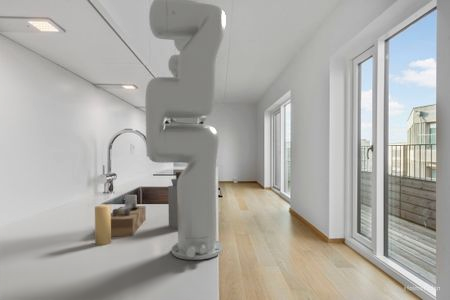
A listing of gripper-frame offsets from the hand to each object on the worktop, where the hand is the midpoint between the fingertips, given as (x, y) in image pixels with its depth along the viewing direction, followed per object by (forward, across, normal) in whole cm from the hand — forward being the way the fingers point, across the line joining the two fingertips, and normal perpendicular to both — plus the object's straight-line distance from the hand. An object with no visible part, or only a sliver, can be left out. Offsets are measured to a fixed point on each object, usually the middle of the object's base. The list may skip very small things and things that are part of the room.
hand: (184, 138), depth 108 cm
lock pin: (+25, -21, -4) cm, 33 cm away
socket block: (+30, -22, -6) cm, 38 cm away
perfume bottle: (+30, -4, -13) cm, 33 cm away
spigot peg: (+30, -29, -20) cm, 47 cm away
